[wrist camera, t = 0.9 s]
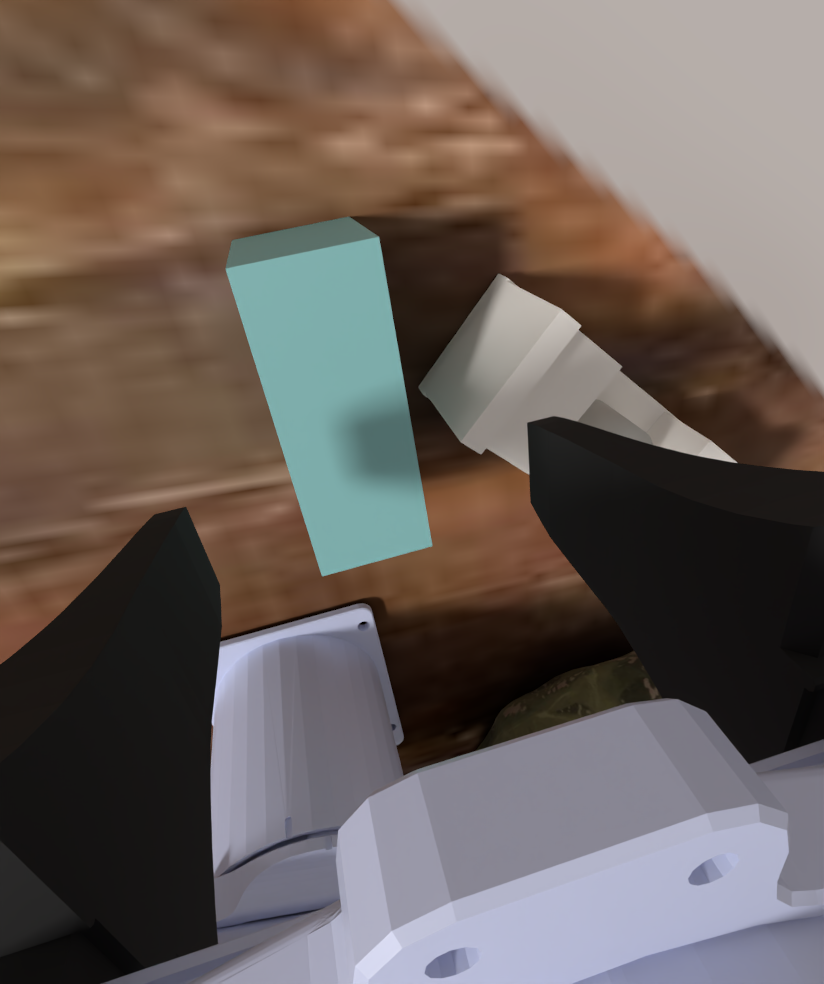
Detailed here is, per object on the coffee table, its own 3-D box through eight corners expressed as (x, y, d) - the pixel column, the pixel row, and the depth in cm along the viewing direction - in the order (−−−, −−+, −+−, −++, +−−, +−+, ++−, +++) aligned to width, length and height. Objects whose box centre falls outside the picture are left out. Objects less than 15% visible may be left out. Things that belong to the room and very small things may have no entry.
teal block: (398, 471, 22) (432, 546, 18) (308, 494, 22) (322, 576, 18) (348, 216, 17) (379, 236, 13) (232, 240, 17) (225, 268, 13)
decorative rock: (645, 742, 39) (759, 911, 31) (420, 812, 34) (487, 1026, 27) (722, 581, 30) (908, 761, 22) (432, 650, 26) (536, 899, 18)
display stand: (705, 443, 25) (793, 500, 21) (631, 524, 26) (700, 591, 22) (498, 273, 19) (564, 305, 15) (417, 387, 20) (458, 445, 16)
